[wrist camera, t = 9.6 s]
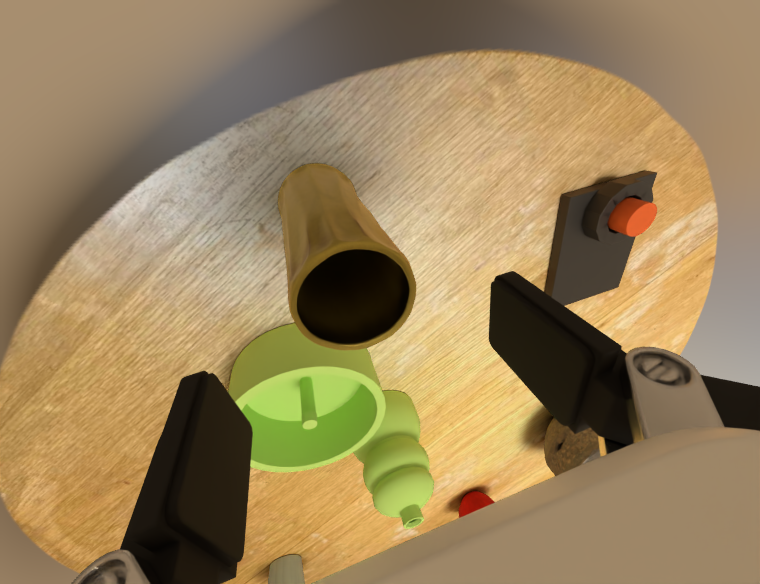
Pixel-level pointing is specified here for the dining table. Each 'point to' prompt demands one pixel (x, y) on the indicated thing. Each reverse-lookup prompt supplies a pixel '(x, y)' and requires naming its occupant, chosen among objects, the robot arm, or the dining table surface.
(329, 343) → the vase
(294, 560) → the cup
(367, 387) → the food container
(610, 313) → the dining table surface
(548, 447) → the bowl
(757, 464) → the robot arm
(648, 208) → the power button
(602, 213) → the button base plate
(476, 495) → the apple
